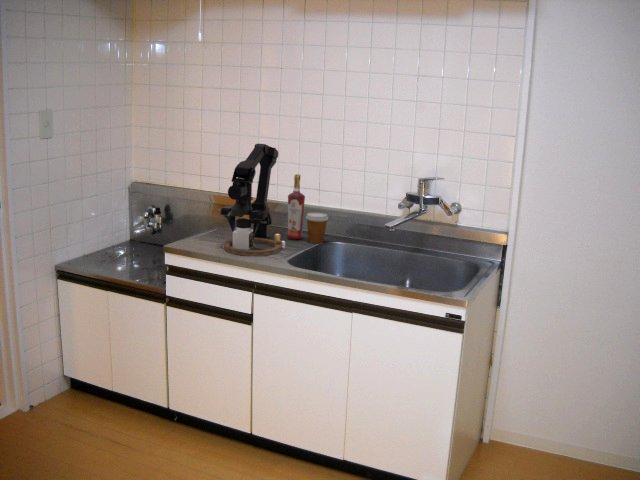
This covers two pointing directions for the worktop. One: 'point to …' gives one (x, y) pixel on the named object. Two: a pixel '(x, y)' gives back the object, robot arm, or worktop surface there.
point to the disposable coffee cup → (316, 227)
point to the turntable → (255, 253)
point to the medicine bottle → (243, 234)
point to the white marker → (283, 244)
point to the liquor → (295, 211)
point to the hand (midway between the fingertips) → (243, 233)
